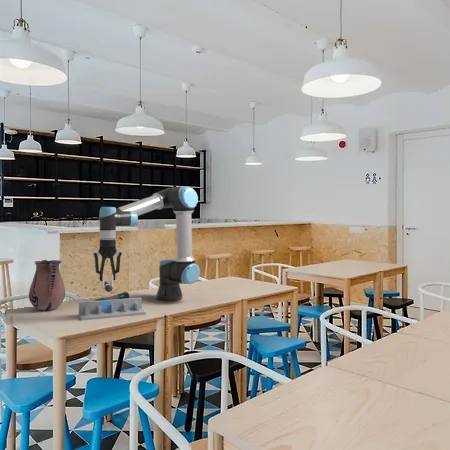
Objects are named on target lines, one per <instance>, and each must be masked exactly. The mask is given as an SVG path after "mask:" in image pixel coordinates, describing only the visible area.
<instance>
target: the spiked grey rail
mask: <svg viewBox="0 0 450 450" xmlns="http://www.w3.org/2000/svg"><path fill="white" fill-rule="evenodd" d="M142 304H143V299H142V297H130V298H128V299H115V300H102V301H94V300H89V301H80V302H78V317H79V319H80V321H87V320H98V319H99V320H100V319H110V318H119V317H129V316H130V317H132V316H139V315H140V316H141V315H142V316H143V315H146V314H147V312H146V311H145V310H144V309H143V305H142Z"/></svg>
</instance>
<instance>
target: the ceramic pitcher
mask: <svg viewBox="0 0 450 450" xmlns="http://www.w3.org/2000/svg"><path fill="white" fill-rule="evenodd" d="M61 263H62V261H61V260H59V259H57V260H56V259H55V260H53V259H52V260H51V259H50V260H47V259H43V260H37V261H34V264H35V268H36V269H35V273H34V275H33V279H32V281H31V284H30V287H29V291H28V292H29V293H28V300H29V302H30V305H32V307H33V308H34V309H36V310H39V311H44V312H46V311H52V310H53V311H54V310H56V309H58V308H59V307H60V306H61V305H62V304H63V302H64V300H65V298H66V288H65V283H64V280H63V277H62V274H61V270H60V265H61Z"/></svg>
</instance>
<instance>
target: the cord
mask: <svg viewBox="0 0 450 450" xmlns="http://www.w3.org/2000/svg"><path fill="white" fill-rule="evenodd" d="M113 288H114V286H113V287H112V285H111V283H109V282H108V281H106V280H104V288H103V290H104V291H105V292H107V293H110V292H112V291H113Z"/></svg>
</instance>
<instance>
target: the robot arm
mask: <svg viewBox="0 0 450 450" xmlns="http://www.w3.org/2000/svg"><path fill="white" fill-rule="evenodd" d="M198 202H199V195H198V194H197V192H196V190H195V189H193V188H192V187H189V186H177V187H176V186H175V187H174V186H172V187H168V188H165V189H163V190H160V191H157V192H155V193H153V194H152V195H151V196H149V197H148V196H147V197H145V198H141V199H140V200H137V201H133V202H132V203H128V204H125V205H123V206H119V207H117V208H116V207H114V206H101V207H100V209H99V249H98V251H96V252H93V253H92V254H93V257H94V265H95V266H94V268H95V273H96V274H99V281H100V282H101V288H102V289H104V281H105V274H104V269H105V265H106V260H107V259H109V262H110V267H111V272H112V273H110V285H112V287H113V288H114V281H116V274H118V273H120V269H121V265H120V264H121V256H122V255H123V252H121V251H118V250H117V247H116V243H117V240H116V237H117V235H116V233H117V232H116V231H117V230H116V229H117V227H134V226H136V225H137V223H138V222H139V221H138V219H139V216H141V215H144V214H146V213H150V212H152V211H154V210H162V209H168V208H170V209H171V208H172V212H173V213H174V214H175V227H176V229H175V231H176V258H171V259H170V258H169V259H162V260H160V261H159V286H158V289H157V292H156V300H157V301H158V300H159V301H164V302H167V301H168V302H171V301H174V302H175V301H179V300H182V299H183V292H182V289H181V285H180V284H183V285H192V284H194V283H196V282H197V280H198V279H199V277H200V274H201V269H200V266H199V265H198V264H196V259H195V257H194V256H193V227H192V225H193V221H192V214H194V212H195V207H197V204H198ZM99 255H100V256H101V263H100V266H99ZM114 256H116V265H115V261H114V260H115V259H114Z"/></svg>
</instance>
